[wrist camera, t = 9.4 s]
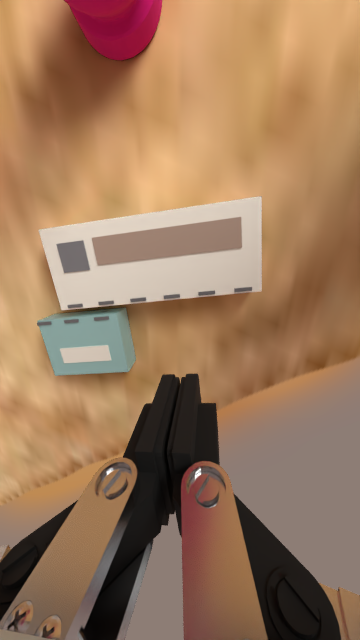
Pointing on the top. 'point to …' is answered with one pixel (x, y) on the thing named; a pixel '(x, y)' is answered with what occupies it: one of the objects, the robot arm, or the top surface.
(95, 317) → the stub
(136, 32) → the pepper mill
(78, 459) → the top surface
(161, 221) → the ticket
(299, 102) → the top surface
